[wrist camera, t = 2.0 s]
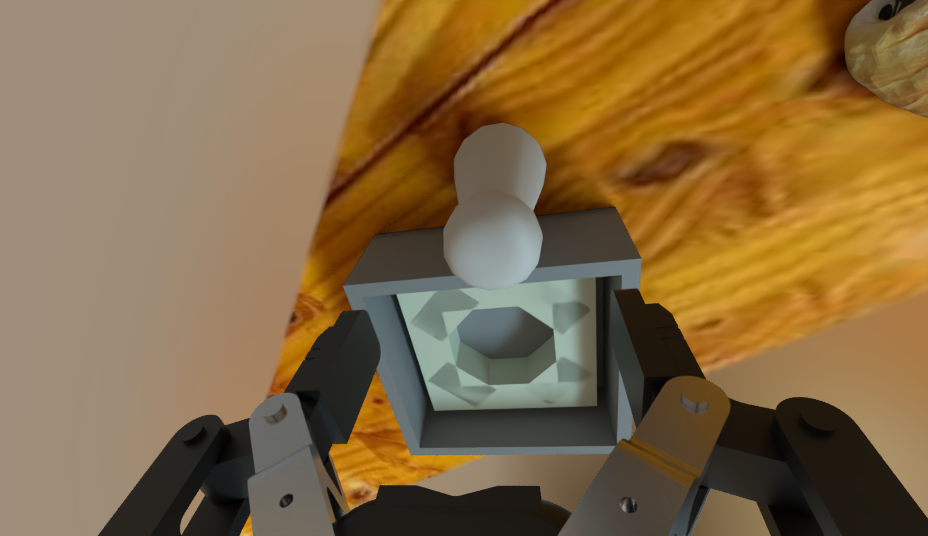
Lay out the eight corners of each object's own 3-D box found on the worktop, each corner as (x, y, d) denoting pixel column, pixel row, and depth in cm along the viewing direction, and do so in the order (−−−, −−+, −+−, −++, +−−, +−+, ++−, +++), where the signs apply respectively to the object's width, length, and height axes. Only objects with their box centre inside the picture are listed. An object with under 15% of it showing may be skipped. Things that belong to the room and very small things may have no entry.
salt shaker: (514, 213, 29) (513, 332, 19) (444, 175, 28) (399, 279, 18) (561, 141, 26) (592, 235, 15) (484, 97, 25) (459, 163, 15)
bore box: (374, 234, 32) (342, 285, 26) (615, 206, 28) (641, 258, 22) (426, 391, 41) (411, 455, 35) (612, 384, 38) (630, 453, 32)
